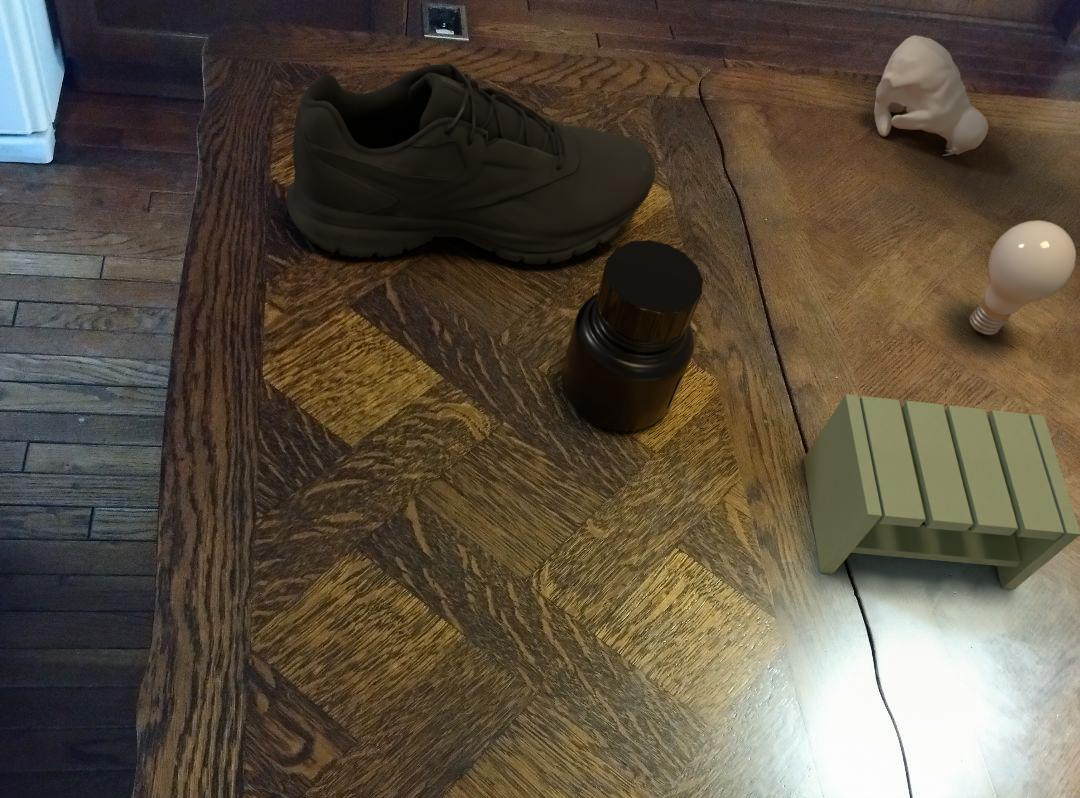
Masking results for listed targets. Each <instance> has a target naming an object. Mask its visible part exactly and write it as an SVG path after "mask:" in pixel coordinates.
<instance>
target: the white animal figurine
mask: <svg viewBox="0 0 1080 798" xmlns="http://www.w3.org/2000/svg"><path fill="white" fill-rule="evenodd" d="M966 92H967V89H966V85H965V84H964V83H963V81H962V79H961V71H960V70H959V68H958V66H957V65H956V63H955V61H954V60H953V57H952V55H951V53H950V52H949V50H948V49H946V48H945V47H944V46H943V45H942V44H940V43H939V42H937V41H936V40H934V39H932V38H930V37H925V36H922V35H915V34H914V35H911V36H909V37H907V38H906V39H904V40H903V41H902V42H901V43H900V44H899V45H898V46H897V47H896V48H895V50H894V51H893V52H892V54H891V56H890V58H889V59H888V62H887V64H886V66H885V68H884V71H883V73H882V76H881V79H880V82H879V84H878V85H877V86H876V90H875V103H874V108H873V113H874V121H875V126H876V128H877V132H878V134H879V135H880V136H882V137H887V136H888V135H889V134H890V132H891V129H892V127H894V128H896V129H900V130H909V131H911V130H917V131H918V130H922V131H923V132H924V131H925V132H926V133H930V134H937V135H939V136H940V137H942V138H944V139H945V140H946V145H945V148H946V149H945V150H944V151H946V154H942V157H944V156H945V157H946V156H951V155H954V154H955V156H958V155H960V154H962V153H965V152H967V151H970V150H975V149H976V148H978V147H979V146H980V145H981V144H982V143H983V142H984V140H985V138H986V136H987V134H988V130H989V122H988V120H987V118H986V117H985V115H983V112H981V111H980V110H979V109H978V108H976V107H974V105H973V106H972V104H971V100H970V98H969V97H968V96H967V93H966ZM904 109H905V110H906V112H907V113H904V114H896V113H901V112H903V111H904ZM891 113H895V115H894V116H893V117H892V115H891Z"/></svg>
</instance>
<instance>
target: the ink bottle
mask: <svg viewBox="0 0 1080 798" xmlns="http://www.w3.org/2000/svg"><path fill="white" fill-rule="evenodd" d="M600 280H601V281H600V282H599V287H598V292H597V293H596V294H594V295H592V296H591V297H590V298H588V299H587V300H586V301H585V302H584V303H583V304H582V305H581V307H580V308H579V310H578V312H577V314H576V315H575V319H574V322H573V326H572V330H571V333H570V338H569V342H568V345H567V350H566V353H565V357H564V360H563V365H562V368H561V369H562V370H561V385H562V389H563V392H564V395H565V397H566V398H567V400H568V402H569V403H570V405H571V406H572V408H574V409H575V411H576V412H577V413H578V414H579V415H580V416H582V417H583V418H584V419H585V420H587V421H588V422H589V423H592V424H594V425H595V426H598V427H600V428H602V429H606V430H609V431H614V432H615V431H616V432H633V431H639V430H642V429H645V428H648V427H651V426H653V425H655V424H656V423H658V422H659V421H660V420H661V419H663V418H664V417H665V416H666V415H667V414H668V413H669V410H670V409H671V407H672V406H673V403H674V401H675V399H676V397H677V395H678V392H679V390H680V388H681V385H682V383H683V380H684V378H685V376H686V373H687V371H688V368H689V365H690V363H691V361H692V358H693V355H694V351H695V336H694V331H693V329H692V326H691V322H692V320H693V317H694V315H695V312H696V310H697V307H698V305H699V303H700V300H701V297H702V295H703V283H704V277H702V274H701V272H700V270H699V266H698V265H697V264H696V263H695V262H694V261H693V260H692V259H691V258H690V257H689V256H688V255H687V254H686V253H685V252H684V251H681V250H679V249H677V248H676V247H673V246H672V245H671V244H669V243H663V242H659V241H654V240H652V239H646V240H632V241H631V240H630V241H629V242H627V243H625V244H622V245H620V246H616V248H615V249H614V251H612V253H611V254H610V255H609V256H608V257H607V259H606V262H605V265H604V269H603V272H602V276H601V279H600Z"/></svg>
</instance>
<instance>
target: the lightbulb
mask: <svg viewBox="0 0 1080 798" xmlns="http://www.w3.org/2000/svg"><path fill="white" fill-rule="evenodd" d="M1076 262H1077V251H1076V246H1075V242H1074V241H1073V239H1072V237H1071V236H1070V235H1069V233H1068V232H1067V231H1066V230H1065V229H1064V228H1062V226H1059V225H1058V224H1056V223H1054V222H1050V221H1047V220H1039V219H1038V220H1029V221H1024V222H1021V223H1018V224H1016V225H1014V226H1012V227H1011V228H1010V229H1008V230H1006V231H1005V232H1004V233H1002V234H1001V236H999V238H998V239H997V241H996V242H995V243H994V245H993V247H992V248H991V250H990V253H989V257H988V262H987V264H988V265H987V275H988V283H987V285H986V287H985V290H984V293H983V298H982V299H981V301H980V302H979V304H977V306H976V308H974V311H972V313H971V314H970V316H969V322H970V325H971V326H972V328H973V329H974V330H976V332H979V333H980V334H981V335H988V336H992V335H996V334H997V333H999V331H1000V329H1002V327H1003V326H1004V324H1005V323H1006V322H1007V321H1008V320H1009V318H1010V317H1011V316H1012V315H1014V314H1016V313H1018V312H1019V311H1020V310H1022V309H1023V308H1024V307H1025V306H1027V305H1029V304H1033V303H1037V302H1040V301H1043V300H1045V299H1048V298H1051V297H1052V296H1054V295H1055V294H1057V293H1058V292H1059V291H1060V290H1061V289H1063V287H1064V286H1065V285H1066V284H1067V283H1068V282H1069V280H1070V278H1071V277H1072V275H1073V273H1074V270H1075V267H1076V264H1077V263H1076Z"/></svg>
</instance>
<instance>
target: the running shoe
mask: <svg viewBox="0 0 1080 798" xmlns="http://www.w3.org/2000/svg"><path fill="white" fill-rule="evenodd" d="M292 148H293V151H292V161H293V162H292V163H293V169H294V175H293V182H292V183H291V184H289V186H288V187H287V192H286V209H287V212H288V215H289V217H290V219H291V220H292V223H293V224H294V225H295V227H296V228H297V229H298V230H299V232H300V233H301V234H302V235H303V236H304V237H306V239H307V240H309V241H310V242H311V243H312V244H314V245H317V246H318V247H319V248H320V249H322V250H325V251H328V252H329V253H332V254H334V253H336V252H338V253H339V255H341V256H344V257H347V256H348V257H349V258H356V257H357V258H372V257H373V255H374V254H375V255H376V256H377V257H378V258H382V257H384V258H388V257H390V256H391V257H395V256H397V255H403V252H404V250H407V251H408V252H409V251H412V250H413V249H417V248H419V247H420V246H424V245H426V244H427V243H429V242H431V241H433V238H434V237H435V238H457V239H460V240H464V241H465V242H466V241H467V242H468V243H471V244H472V245H475V246H476V247H479V248H481V249H483V250H484V251H487V252H494V253H495V255H496V256H497V257H498V258H501V259H504V260H507V261H510V262H516V263H518V262H520V261H521V260H522V261H523V263H524V264H528V265H545V264H547V263H548V262H549V263H550V264H558V263H562V262H565V261H568V260H569V259H571V258H572V257H573V255H574V256H577V257H578V256H580V255H583V254H586V253H588V252H589V251H591V250H593V249H594V248H596V247H597V245H598V244H604V243H606V242H607V241H609V240H610V239H611V238H613V237H614V236H615V235H616V234H617V233H618V232H619V229H620V228H624V227H625V226H626V225H627V224H628V223H629V222H630V221H631V219H632V218H633V217H634V215H635V214H636V212H637V210H639V208H640V207H641V206H642V204H643V203H644V202H645V201H646V200H647V198H648V196H649V194H650V191H651V190H652V187H653V184H654V181H655V176H656V165H655V161H654V159H653V157H652V154H651V153H650V151H649V150H648V148H647V147H646V146H645V145H644V144H643V143H642V142H641V141H638V140H636V139H635V138H633V137H632V138H631V137H630V136H625V135H620V134H617V133H611V132H608V131H602V130H597V129H592V128H589V127H581V126H572V125H566V124H562V123H561V122H558V121H557V120H556V121H555V120H553V119H550V118H547V117H543V116H542V115H541V114H539V113H538V112H536V111H535V110H533V109H532V108H530V107H528V106H527V105H525V104H523V103H522V102H519V101H518V100H516V99H515V98H514V97H512V96H511V95H509V94H508V93H506V92H504V91H502V90H499V89H497V88H494V87H479V82H478V81H477V80H474V79H472V76H471V74H470V73H469V72H466V73H464V74H463V73H462V72H461V70H460V69H459V68H458V67H457V66H456V65H455V64H454V63H452V62H444V63H442V64H441V63H439V64H438V63H437V64H429V65H425V66H421V67H419V68H416V69H414V70H411V71H410V72H408V73H406V74H404V75H402V76H401V77H400V78H397V80H396V81H394V82H392V83H390V84H388V85H386V86H385V87H382V88H379V89H376V90H373V91H369V92H365V93H357V92H352V91H347V90H345V89H344V88H343V87H342V86H341V84H340V83H339V81H338V80H337V78H336V77H335V76H334V75H333V74H331V73H323V74H321V75H320V76H318V77H316V78H314V79H313V80H312V81H311V82H310V84H309V85H308V86H307V88H306V89H305V91H304V93H303V95H302V96H301V99H300V102H299V105H298V106H297V111H296V115H295V122H294V132H293V140H292Z"/></svg>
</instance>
